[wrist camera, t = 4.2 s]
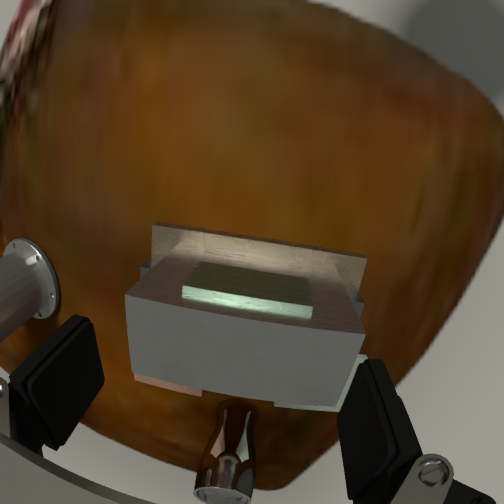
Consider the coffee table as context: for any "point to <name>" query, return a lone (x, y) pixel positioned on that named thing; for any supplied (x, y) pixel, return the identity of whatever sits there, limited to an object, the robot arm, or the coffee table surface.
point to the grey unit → (246, 315)
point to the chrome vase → (229, 456)
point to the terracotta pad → (168, 385)
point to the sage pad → (359, 359)
